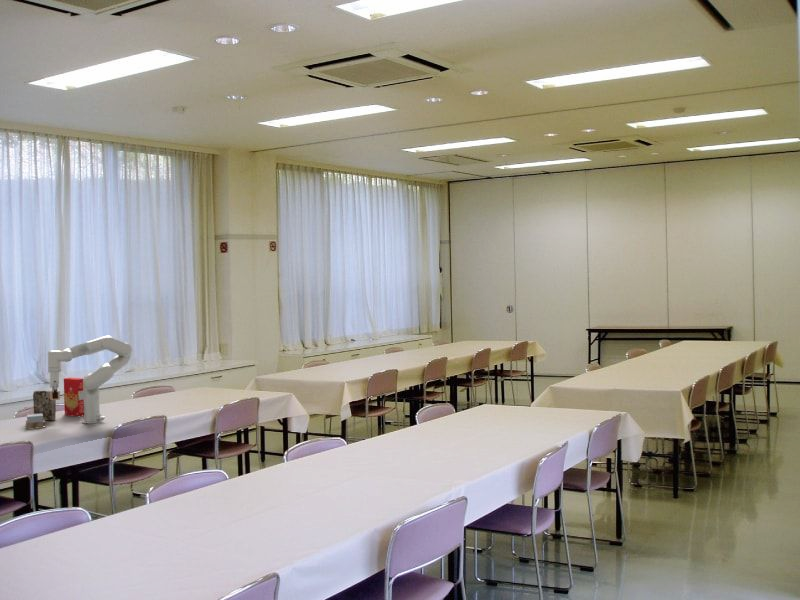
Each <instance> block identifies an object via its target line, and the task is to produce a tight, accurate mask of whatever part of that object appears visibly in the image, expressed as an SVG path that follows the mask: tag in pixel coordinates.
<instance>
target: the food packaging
mask: <svg viewBox="0 0 800 600" xmlns="http://www.w3.org/2000/svg"><path fill="white" fill-rule="evenodd" d="M83 379H84V378H79V377H77V378H76V377H67V378H63V400H64V402H63V403H64V415H65V414H66V415H65V416H70V415H73V416H72V417H78V416H80V417H83V416H82V415H84V391H83Z"/></svg>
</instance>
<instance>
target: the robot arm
mask: <svg viewBox="0 0 800 600" xmlns="http://www.w3.org/2000/svg"><path fill="white" fill-rule="evenodd" d="M105 350H107V351H109V352H112V353H114V354H116V355H115V356H114V357H113V358H111V359H110V360H108V361H107V362H106V363H103V364H102V365H100V366H99V368H98V369H96V370H95V371H94V372H92V373H87V374H85V375H84V377H83V378H82V379H83V391H84V416H83V417H84V419H82V420H81V423H82V424H86V423H89V424H96V423H97V424H98V423H102V422H103V421H104V420H105V416H102V414H101V413H100V409H101V408H100V386H103V384H105V383H107V382H108V381H110V380H111V379H112V378H113V377H114V374H115V373H117V372H119V370H121V369H122V368H124V367H125V366H126V365H127V364H128V363H129V361H130V359H131V356H132V352H133V348H132V345H131V344H130V343H128V342H124V341H121V340H119V339H116V338H114V337H113V336H112V335H104V336H101V337H99V338H95V339H92V340H88V341H86V342H84V343H83V342H82V343H80V344H77V345H74V346H71V347H68V348H65V349H63V350H58V349H56V350H55V349H52V350H49V351H47V372H48V373H49V388H50V389H51V390H53V392H52V398H53V399H58V390H59V389H58V388H60V387H59V386H60V373H61V372H62V366H61V365H62V364H61V362H64V363H65V362H66V363H67V362H71V361H72V360H73V359H76V358H78V357H83V356H90V355H94V354H97V353H99V352H103V351H105Z"/></svg>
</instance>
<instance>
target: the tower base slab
mask: <svg viewBox="0 0 800 600" xmlns="http://www.w3.org/2000/svg"><path fill="white" fill-rule="evenodd" d="M43 426H46V421H45V419H43V422H36V423H27V420H25V427H26V428H33V429H37V428H36V427H43Z"/></svg>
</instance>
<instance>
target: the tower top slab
mask: <svg viewBox="0 0 800 600" xmlns="http://www.w3.org/2000/svg"><path fill="white" fill-rule="evenodd" d="M26 421H27V423H36V422H43V414H42V413H41V414H34V413H31V414H26Z"/></svg>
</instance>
